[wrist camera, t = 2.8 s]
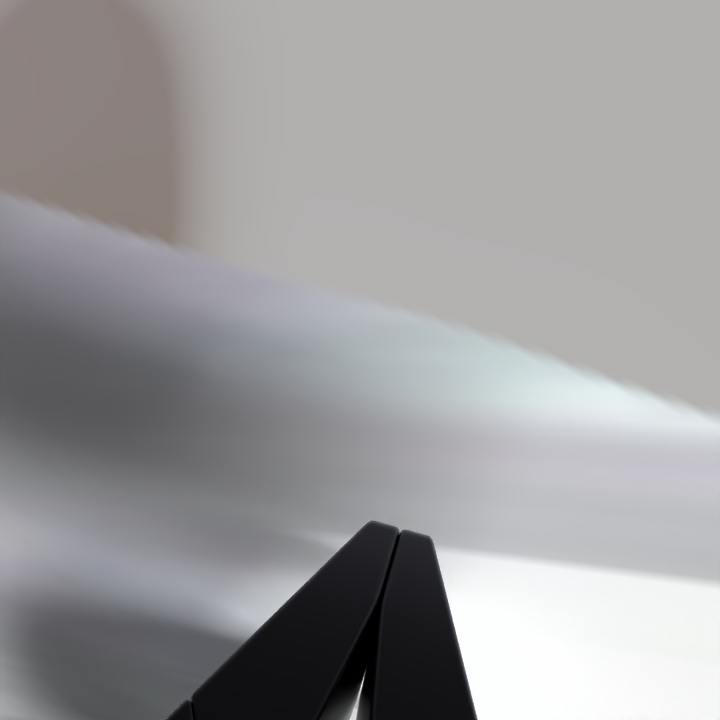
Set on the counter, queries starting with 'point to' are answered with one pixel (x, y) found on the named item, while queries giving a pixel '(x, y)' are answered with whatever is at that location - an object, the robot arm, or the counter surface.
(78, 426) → the counter surface
